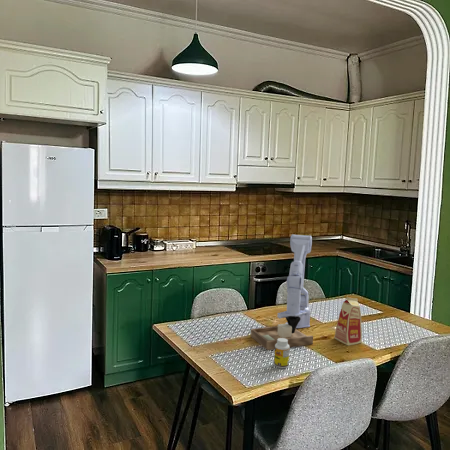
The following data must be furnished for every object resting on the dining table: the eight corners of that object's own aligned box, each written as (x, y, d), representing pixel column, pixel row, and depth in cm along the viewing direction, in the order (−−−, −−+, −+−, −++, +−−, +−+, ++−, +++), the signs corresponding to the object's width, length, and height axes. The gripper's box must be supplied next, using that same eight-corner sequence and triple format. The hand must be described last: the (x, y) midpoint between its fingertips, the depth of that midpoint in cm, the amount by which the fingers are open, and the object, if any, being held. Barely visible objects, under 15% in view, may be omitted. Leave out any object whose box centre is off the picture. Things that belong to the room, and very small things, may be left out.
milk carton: (347, 345, 188) (350, 300, 186) (333, 338, 197) (336, 294, 194) (363, 342, 193) (366, 298, 191) (348, 335, 201) (351, 293, 199)
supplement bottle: (271, 363, 167) (272, 338, 166) (283, 361, 169) (284, 336, 168) (278, 369, 162) (280, 343, 161) (291, 367, 164) (292, 341, 163)
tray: (293, 331, 203) (293, 324, 203) (312, 344, 189) (313, 336, 188) (250, 336, 195) (250, 329, 195) (267, 350, 180) (267, 342, 180)
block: (286, 333, 195) (286, 323, 195) (291, 336, 191) (292, 326, 191) (277, 334, 193) (277, 324, 193) (282, 337, 189) (283, 327, 189)
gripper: (283, 306, 186) (282, 337, 187) (312, 303, 191) (311, 333, 193) (275, 301, 192) (274, 331, 194) (303, 299, 198) (302, 328, 199)
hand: (292, 332), depth 194 cm, fingers closed
